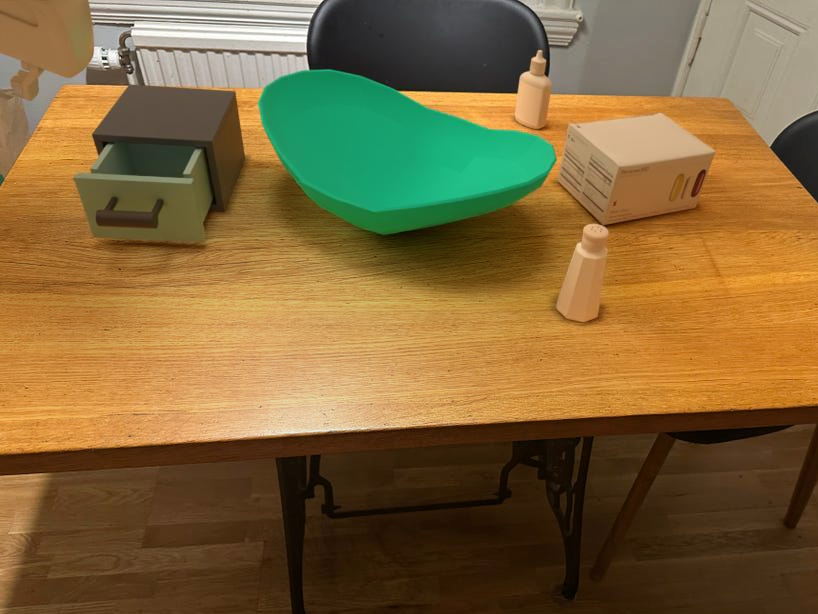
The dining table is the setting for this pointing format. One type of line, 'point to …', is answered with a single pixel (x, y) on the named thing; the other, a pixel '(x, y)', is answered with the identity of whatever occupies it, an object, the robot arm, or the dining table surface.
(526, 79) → the eye dropper bottle
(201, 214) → the drawer
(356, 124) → the table top decor
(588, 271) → the salt shaker
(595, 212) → the supplement box
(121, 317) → the dining table surface
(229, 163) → the mini chest of drawers
